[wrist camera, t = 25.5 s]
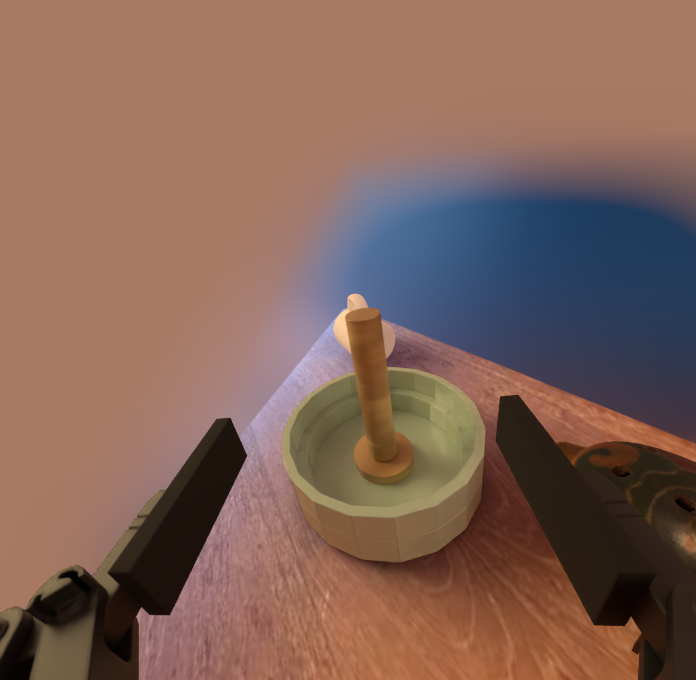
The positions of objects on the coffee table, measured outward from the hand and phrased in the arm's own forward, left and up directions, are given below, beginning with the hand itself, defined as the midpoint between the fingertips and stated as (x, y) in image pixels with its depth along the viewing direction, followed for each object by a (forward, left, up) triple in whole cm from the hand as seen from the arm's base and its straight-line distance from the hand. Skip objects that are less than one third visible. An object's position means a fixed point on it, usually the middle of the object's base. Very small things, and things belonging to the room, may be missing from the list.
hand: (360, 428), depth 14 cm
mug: (-16, +34, -16) cm, 41 cm away
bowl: (-4, +11, -16) cm, 20 cm away
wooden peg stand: (-4, +11, -15) cm, 19 cm away
